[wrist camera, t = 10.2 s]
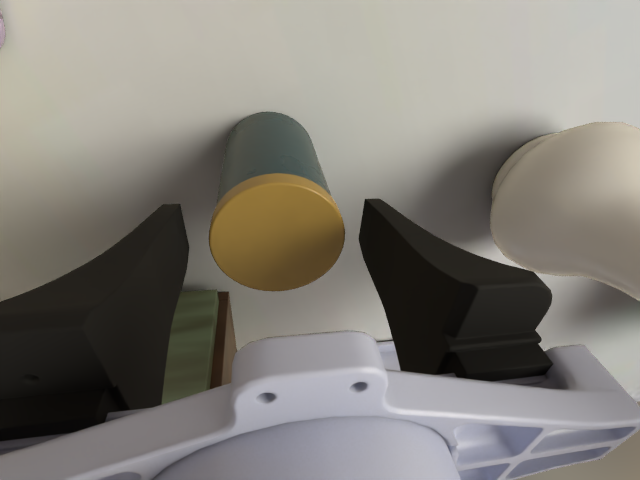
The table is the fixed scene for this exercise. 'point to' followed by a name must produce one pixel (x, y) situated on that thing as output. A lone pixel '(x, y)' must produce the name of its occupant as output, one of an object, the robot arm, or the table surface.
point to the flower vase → (573, 205)
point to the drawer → (191, 345)
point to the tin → (274, 207)
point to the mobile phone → (2, 31)
